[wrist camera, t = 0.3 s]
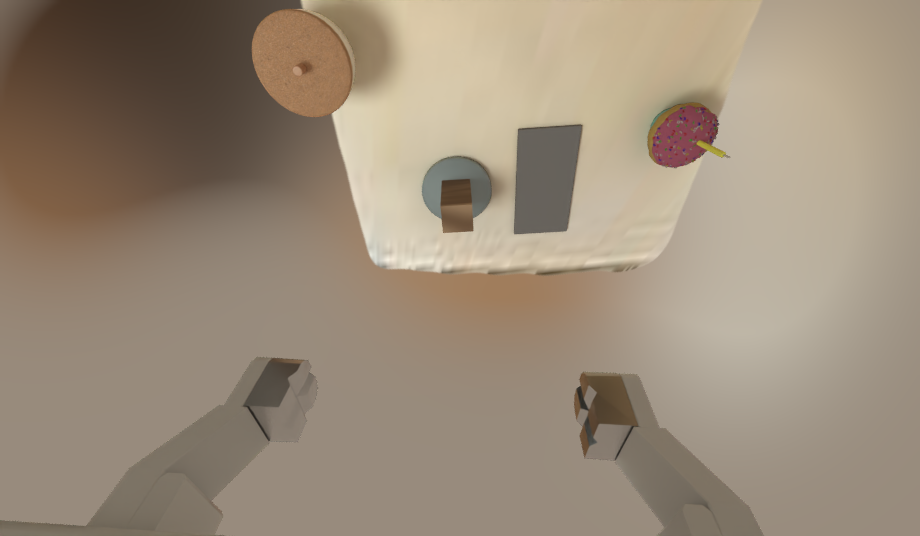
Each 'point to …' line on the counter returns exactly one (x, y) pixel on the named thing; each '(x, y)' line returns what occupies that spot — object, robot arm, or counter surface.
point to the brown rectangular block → (456, 206)
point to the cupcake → (682, 135)
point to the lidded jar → (304, 61)
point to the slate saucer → (452, 171)
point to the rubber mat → (545, 178)
